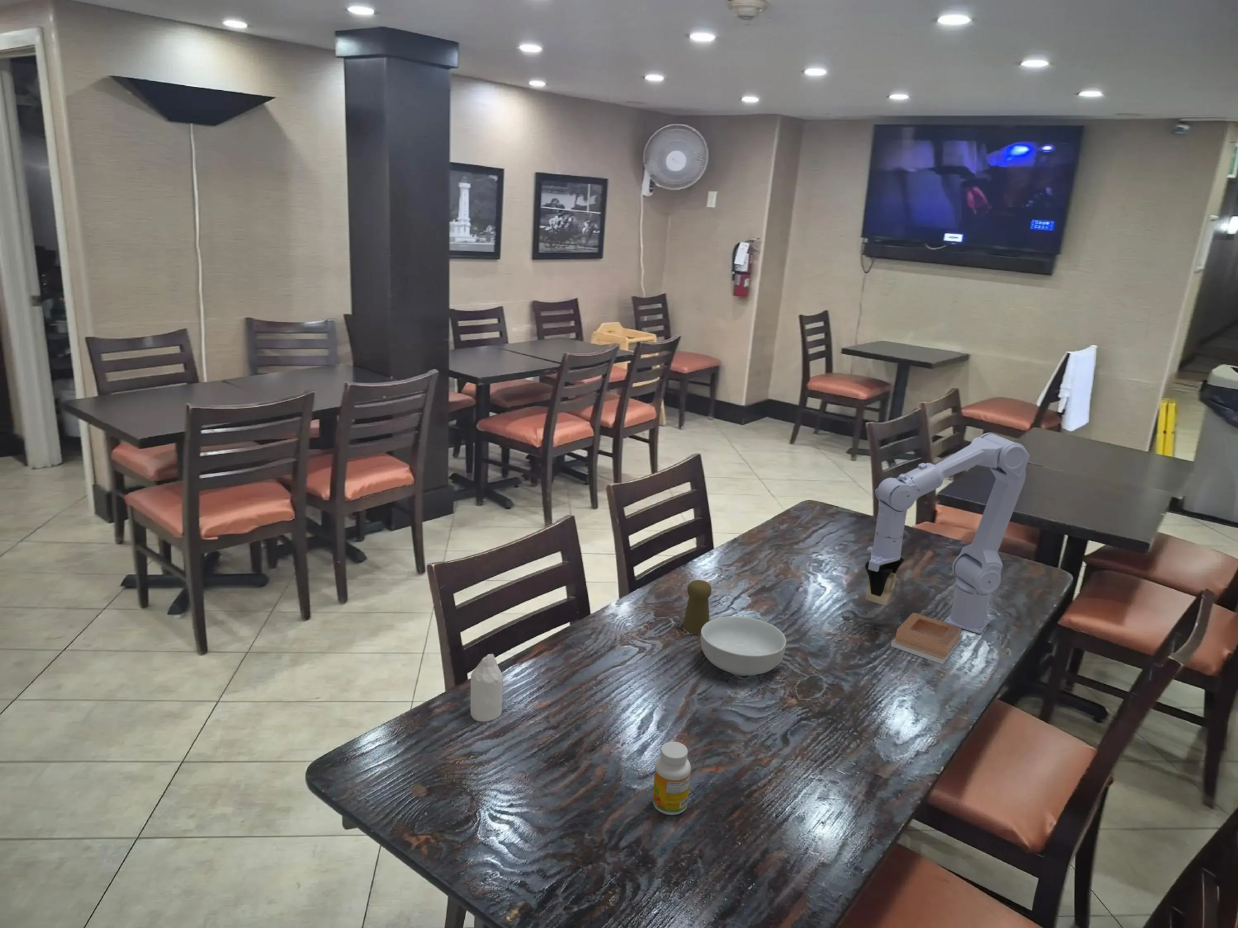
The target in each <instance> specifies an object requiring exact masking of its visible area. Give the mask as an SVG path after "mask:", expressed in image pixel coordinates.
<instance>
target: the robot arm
mask: <svg viewBox="0 0 1238 928" xmlns="http://www.w3.org/2000/svg"><path fill="white" fill-rule="evenodd" d="M1030 458H1031V455H1030V454H1029V452H1028V450H1027V449H1026V448H1025V446H1024V445H1023V444H1022V443H1019V442H1015V441H1012V440H1009V439H1007V438H1005V437H1002V436H1000V435H998V434H996V433H994V432H986V433H983V434H981V435H980V436H978V437H974V438H973V439H972V440H971V442H970V444H969V445H967V446H965V447H963V448H962V449H960V450H958V451H957V452H955V453H953V454H952V455H950V456H948V457H945V459H943V460H941V461H939V462H938V463H935V464H933V463H931V462H926V463H924V462H922V463H919V464H918V466H917V467H916V468H914V469H912V470H910V471H907V472H906V473H901V474H899V475H898V476H897V477H896V478H895V477H888V478H885V479H884V480H882V481H881V482H879V485H878V487H877V488H875V490H874V491H875V492H874V493H875V496H876V498H877V500H878V506H877V507H878V510H877V512H878V513H877V517H876V524H875V530H874V531H875V533H874V539H873V546H868V548H867V549H866V552H868V553H870V560H867V562H865V564H864V569H865V571H866V572H867V575H868V578H869V581H870V590H871V594H873V595H876V596H879V597H880V596H881V595H882V593H883V590H884V587H885V584H886V581H887V579H888V577H889V575H890V574H891V572H892V573H895V574H896V575H897V572H898V570H899V568H900V567H901V565H902V564H903V563H904V561H905V558H903V557H902V550H903V549H902V547H903V544H902V543H903V537H904V531H905V525H906V520H907V513H908V510H909V509H910V508H912V507H913V505H914V503H915V502H916V501H917V500H918V499H919V498H921V497H922V496H924V495H927V494H929V493H930V492H932V491H935V490H937V489H938V488H940V487H942V485H943V482H944V480H945V479H947V478H949V477H951V476H953V475H956V474H959V473H961V472H964V471H966V470H968V469H971V468H973V467H975V466H981V467H982V466H983V467H987V468H989V469H990V472H991V473H992V474H993V476H994V477H995V480H994V483H993V486H992V489H991V492H990V494H989V498H988V500H987V502H986V506H985V507H984V510H983V512H982V516H981V519H980V520H979V524H978V526H977V528H976V529H977V530H976V531H975V535H974V537H973V540H972V543H969V544H968V545H965V546H963V547H962V548H961V551H960V553H959V555H957V557H956V558H955V559H954V560H953V562H952V565H951V566H952V567H951V570H952V573H953V575H954V576H955V580H954V581H955V582H956V584H955V590H954V594H953V595H954V596H953V601H952V606H951V611H950V614H948V616H947V617H946V618H945V619H944V621H943V622H945V623H948V624H951V625H954V626H957V627H960V628H961V630H962V629H963V630H966V631H968V632H972V633H976V634H979V635H980V634H982V633H983V631H984V630H985V629H986V627H987V626H988V624H989V623H990V622H991V620H992V618H991V617H989V616H988V611H989V607H990V601H991V597H992V594H993V592H995V591H996V590H997V589H998V588H999V586H1000V584H1001V582H1002V575H1001V574H1002V570H1003V567H1004V566H1003V562H1002V559H1001V557H1000V555H999V549H1000V547H1001V544H1002V542H1003V540H1004V537H1005V533H1006V531H1007V529H1008V527H1009V523H1010V520H1011V518H1012V515H1013V513H1014V510H1015V508H1016V506H1017V502H1018V500H1019V498H1020V495H1021V492H1022V490H1023V487H1024V484H1025V482H1026V477H1027V465H1028V463H1029V460H1030Z"/></svg>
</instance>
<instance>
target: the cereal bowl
mask: <svg viewBox="0 0 1238 928" xmlns="http://www.w3.org/2000/svg"><path fill="white" fill-rule="evenodd" d="M699 639H700V645H701V649H702V652H703V654H704V655H705V657H706V658H707V660H709V662H710V663H711V664H712V665H714V666H715V667H717V668H718V669H721V670H722V671H726V672H727V673H729V674H732V675H735V676H741V677H742V676H743V677H749V676H755V675H762V674H765V673H768V672H770V671H771V670H773V669H775V668H777V666H778V665H779V664H780V663H781V662H782V661H783V660H782V659H784V656H785V654H786V647H787V637H786V636H785V634H784V633H783V631H781V630H780V629H779V628H778V627H776V626H775V625H773V624H771V623H769V622H767V621H763V620H760V619H757V618H753V617H750V616H749V617H748V616H739V615H738V616H737V615H732V616H731V615H729V616H721V617H716V618H713V619H711V620H709V622H707V623H706V624H705V625H704V626H703V627H702V629H701V635H700V638H699Z"/></svg>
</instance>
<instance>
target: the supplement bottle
mask: <svg viewBox="0 0 1238 928" xmlns="http://www.w3.org/2000/svg"><path fill="white" fill-rule="evenodd" d="M688 755H689V754H688V748H687V746H686V745H685V744H683V743H681V742H678V741H667V742H665V743H664V744H662V745H661V749H660V756H658V757H657V759H656V761H655V765H654V777H653V788H652V789H653V792H652V804H653V806H654V808H655V809H656V810H657V811H659V812H660V813H662V814H664V815H667V816H668V815H669V816H675V815H680V814H681V813H684V811H686V810H687V808H688V803H689V795H690V782H691V774H692V773H691V772H692V770H691V769H692V767H691V763H690V761H689V759H688Z"/></svg>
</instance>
